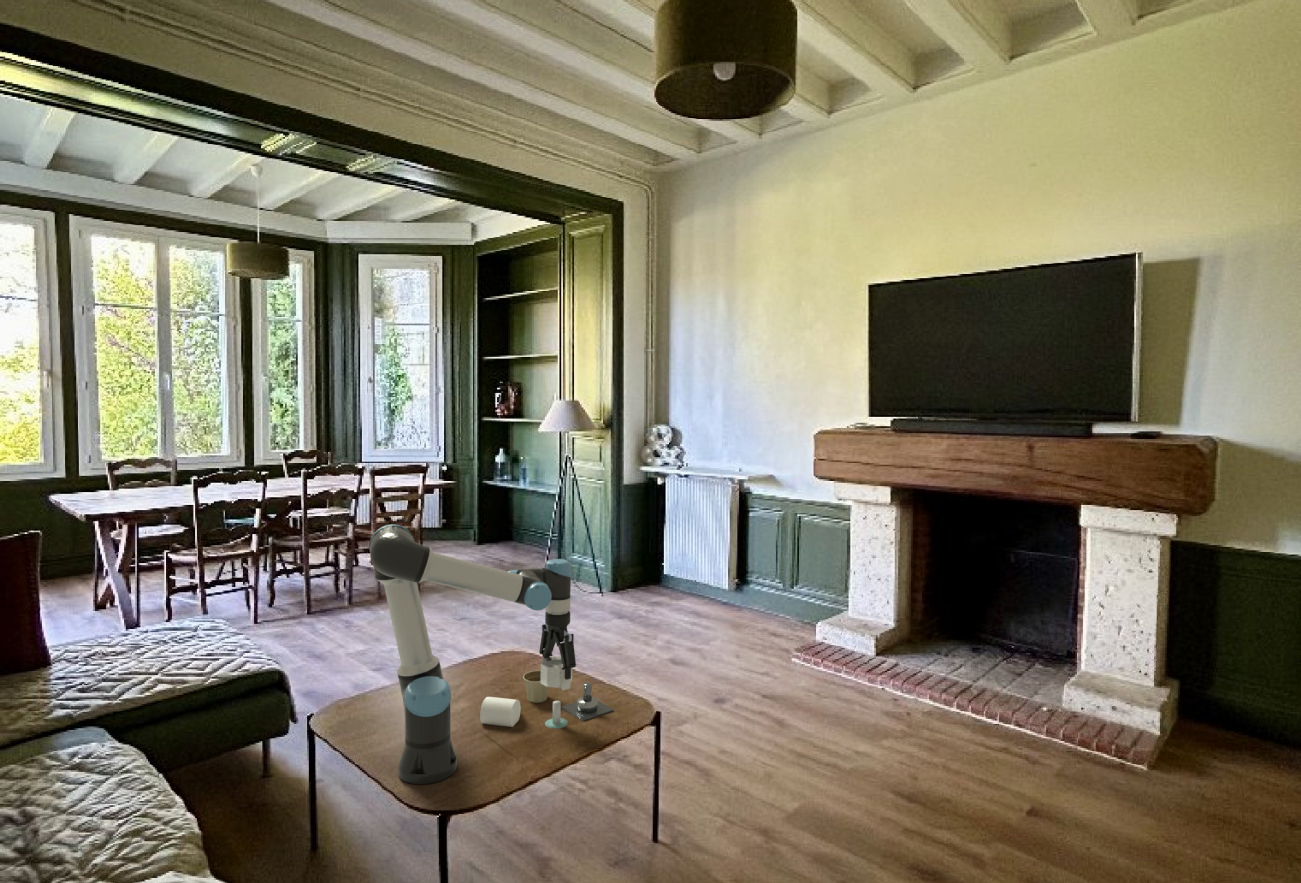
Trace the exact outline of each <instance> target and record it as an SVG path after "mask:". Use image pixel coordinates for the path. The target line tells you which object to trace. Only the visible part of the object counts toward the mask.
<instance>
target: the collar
mask: <svg viewBox="0 0 1301 883" xmlns="http://www.w3.org/2000/svg"><path fill="white" fill-rule="evenodd" d="M566 665H567V664H566ZM562 668H564V667H563V663H562V659H561V656H550V658H546V659H544V658H543V659H542V661H541V663H540V671H541V684H543V685H545V686H546V687H549V688H555V689H556V688H557V689H559V688H561V684H562ZM572 681H573V668H571V679H570V685H571V683H572Z"/></svg>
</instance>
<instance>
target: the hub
mask: <svg viewBox="0 0 1301 883" xmlns="http://www.w3.org/2000/svg"><path fill="white" fill-rule="evenodd" d="M582 685H583V686H582V688H583V689H582V696H581V697H579V698H577V701H575V702H571V703H569V704H568V703H567V704H565V705H562V706H561V710H563V711H565V712H566V713H568V714H570V715H571V716H573V717H575V718H576V719H578V720H580V721H582V722H586V721H589V720H591V719H594V718H597V717H600V716H603V715H605V714H610V713H612V712H614V711H615V709H614V708H612V707H610V706H609V705H607V704H605V703H603V702H602V701H600V700H598V698H597V697H595V696H593V683H592V682H590V681H589V682H588V681H587V682H583V683H582Z"/></svg>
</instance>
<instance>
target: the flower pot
mask: <svg viewBox="0 0 1301 883" xmlns="http://www.w3.org/2000/svg"><path fill="white" fill-rule="evenodd" d="M522 679H523V680H524V681H523V682H524V683H525V692H526V696H527V701H529V702H530V703H543V702H546V701H547V700H548V694H549V688H550V687H546V686H545V685H543V684H541V670H531V671H528V672H526V673H524V674H523V676H522Z"/></svg>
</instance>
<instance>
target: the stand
mask: <svg viewBox="0 0 1301 883" xmlns="http://www.w3.org/2000/svg"><path fill="white" fill-rule="evenodd" d="M561 704H562V702H561V701H560V700H554V701H552V718H549V719H547V720H546V721H545V722H544V725H545V727H547V728H550V729H555V730H556V729H562V728H564V727H567V726H568V725H569V722H568V720H567V719H565V718H563V717H562V716H561V715H562V714H561V710H562V709H561Z"/></svg>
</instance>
